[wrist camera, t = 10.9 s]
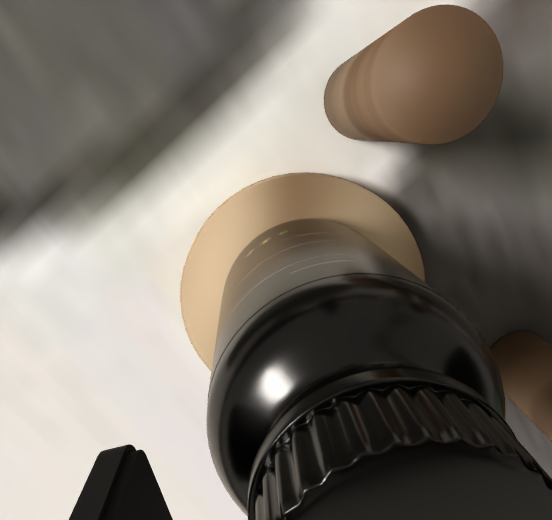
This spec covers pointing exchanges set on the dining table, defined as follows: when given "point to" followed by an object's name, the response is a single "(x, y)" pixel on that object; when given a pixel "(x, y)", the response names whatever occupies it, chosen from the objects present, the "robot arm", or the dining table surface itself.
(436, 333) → the supplement bottle
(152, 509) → the robot arm
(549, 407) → the walnut dowels
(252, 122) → the dining table surface
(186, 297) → the cork coaster
